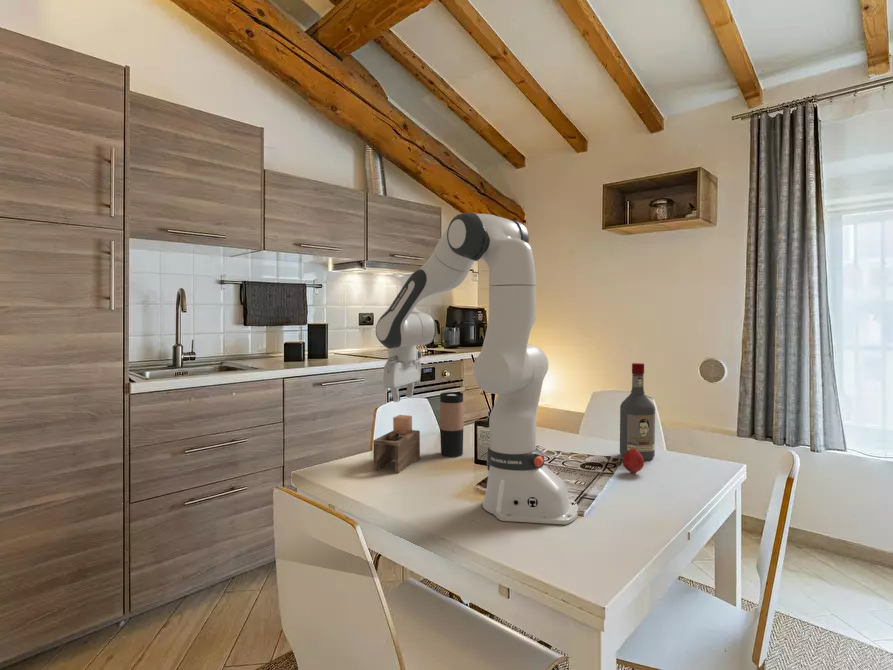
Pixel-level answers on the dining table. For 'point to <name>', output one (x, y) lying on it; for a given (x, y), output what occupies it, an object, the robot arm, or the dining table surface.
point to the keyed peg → (402, 425)
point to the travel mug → (451, 424)
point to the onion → (633, 460)
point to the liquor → (637, 418)
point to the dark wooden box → (396, 450)
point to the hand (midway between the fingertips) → (403, 399)
